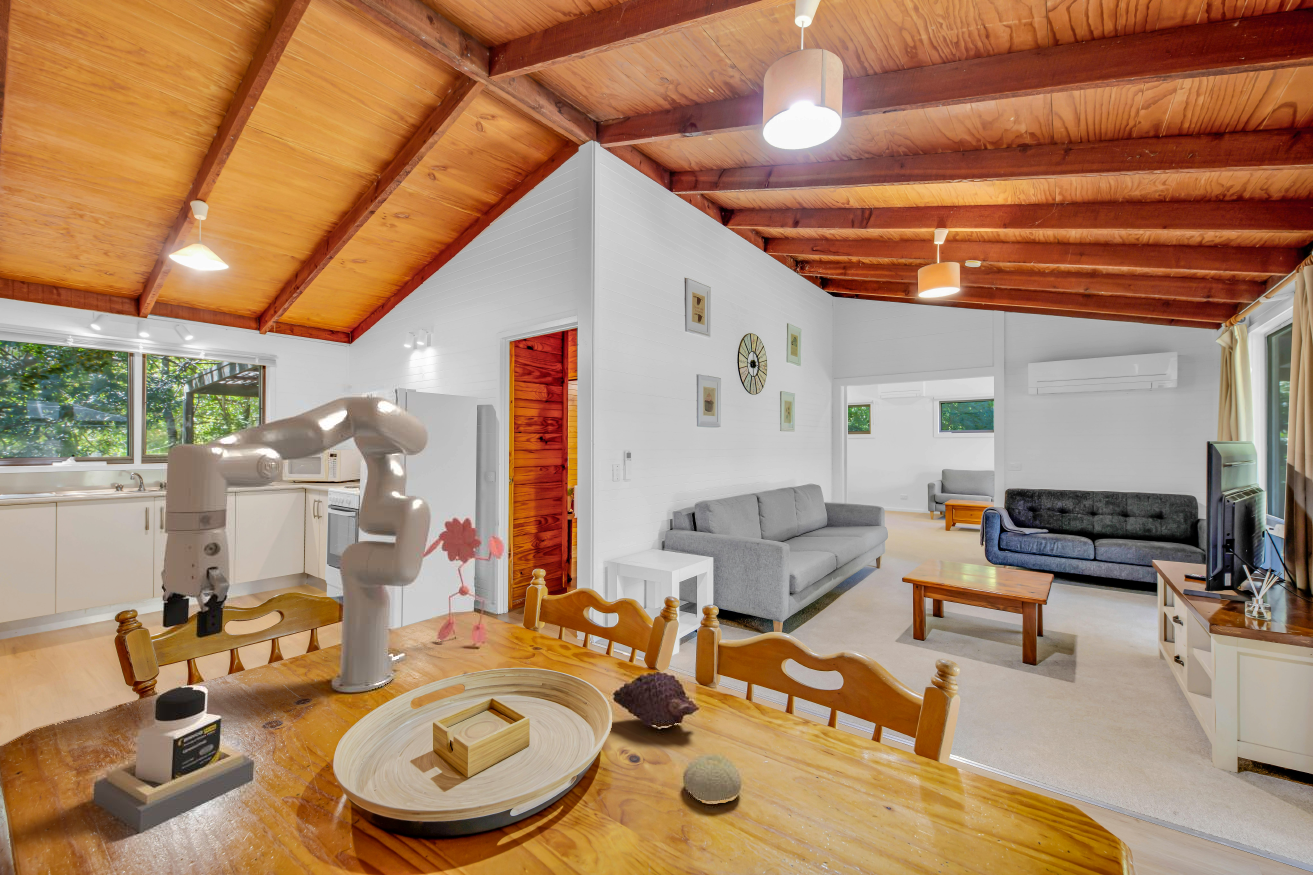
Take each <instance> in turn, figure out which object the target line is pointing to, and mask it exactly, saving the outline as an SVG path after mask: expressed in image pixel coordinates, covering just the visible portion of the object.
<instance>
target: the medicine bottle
mask: <svg viewBox="0 0 1313 875" xmlns="http://www.w3.org/2000/svg"><path fill="white" fill-rule="evenodd" d="M208 693H209V691H208V689H207V687H205V686H201V685H191V684H190V685H185V686H177V687H175V688H171V689H170V690H167V691H166V692H163V693H162V694H160V695H159V696H158V697H157V698H156V699H155V712H154V713H155V714H154V723H153V724H151V725H149V726H146V727H143V728H141V729H140V730H138V731H137V741H136V755H135V756H136V757H135V758H136V759H135V761H136V773H135V778H137V779H140V780H145V781H150V782H155V783H160V784H165V783H168V782H170V781H172V780H175V779H177V778H180V777H182V776H184V775H187V774H189V773H191V772H194V771H196V770H199V769H201V768H203V767H206V766H208V765H210V764H213V763H215V762H217V761H218V760H219V750H220V744H221V728H222V716H221V715H217V714H212V713H207V712H208V711H207V709H208Z"/></svg>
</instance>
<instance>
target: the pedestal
mask: <svg viewBox="0 0 1313 875" xmlns="http://www.w3.org/2000/svg"><path fill="white" fill-rule="evenodd" d="M254 764H255V760H253V759H252V758H249V757H247V756H245V755H244V753H242V752H239V751H238V750H235V749H233V748H231V747H228V746H226V745H224V744H222V743H220V750H219V760H218V761H217V762H215V763H213V764H210V765H208V766H206V767H203V768H201V769H199V770H196V771H194V772H191V773H189V774H187V775H184V776H182V777H180V778H177V779H175V780H172V781H170V782H168V783H165V784H160V783H155V782H150V781H145V780H140V779H137V778H135V773H136V760H135V761H132V762H129V763H126V764H124V765H121V766H119V767H116V768H113V769H110V770H108V771H106V776H105V777H103V778H100V779H98V780H95V781H94V782H93V796H92V797H93V799H92V800H93V801H92V803H93V804H95V805H96V806H97V807H99V808H100V809H103V810H104V811H106V813H108V814H110V815H111V816H113V817H114V816H115V817H114V818H116V819H117V818H118V819H117V820H119V819H120V820H121V821H120V820H119V821H120V822H122V823H124V824H125V823H126V824H125V825H127V826H128V825H129V826H128V827H130V828H131V829H133V830H134V831H136V832H137V833H139V834H141V833H143V832H145V831H147V830H150V829H152V828H154V827H156V826H158V825H160V824H162V823H165V822H166V821H169V820H171V819H173V818H175V817H178V816H179V814H180V815H182V814H184V813H186V812H187V811H188V812H189V811H190V810H192V809H194V808H196V807H199V806H200V805H202V804H205V803H207V802H209V801H212V800H214V799H215V798H218V797H220V796H222V795H223V794H226V793H228V792H231V791H233V790H235V789H237V788H240V787H241V786H243V785H245V784H247V783H249V782H251V781H253V780H254V769H255V767H254ZM181 813H182V814H181ZM177 815H178V816H177ZM170 818H171V819H170Z"/></svg>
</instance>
